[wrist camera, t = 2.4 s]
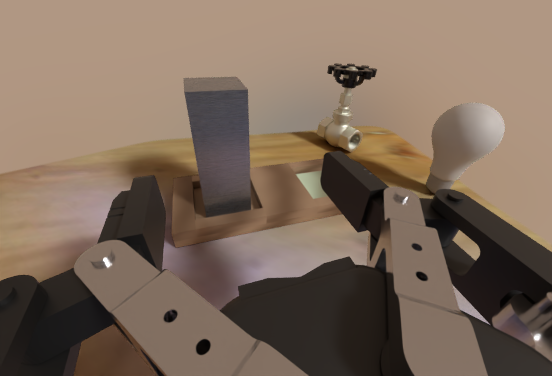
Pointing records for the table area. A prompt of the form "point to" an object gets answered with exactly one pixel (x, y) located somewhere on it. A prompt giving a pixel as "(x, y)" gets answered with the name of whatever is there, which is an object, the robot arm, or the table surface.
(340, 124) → the valve
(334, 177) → the robot arm
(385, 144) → the table surface
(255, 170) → the tray
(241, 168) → the metal block
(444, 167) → the lightbulb
